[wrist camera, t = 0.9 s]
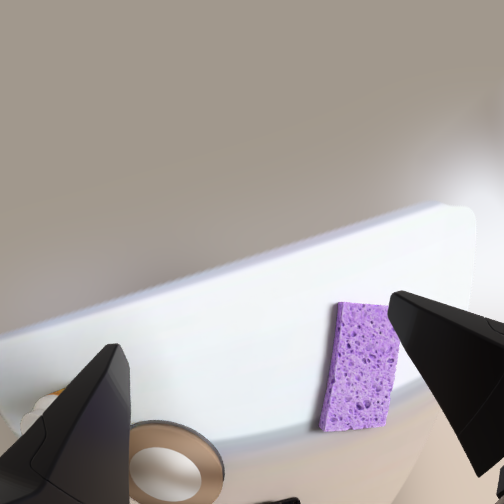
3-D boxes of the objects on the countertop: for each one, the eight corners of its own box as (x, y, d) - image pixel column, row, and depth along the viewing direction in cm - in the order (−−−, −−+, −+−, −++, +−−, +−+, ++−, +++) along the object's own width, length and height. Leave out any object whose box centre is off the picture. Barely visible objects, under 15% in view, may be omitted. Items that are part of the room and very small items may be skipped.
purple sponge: (316, 425, 23) (322, 432, 21) (335, 300, 26) (343, 298, 24) (377, 422, 23) (385, 427, 22) (394, 307, 27) (404, 305, 25)
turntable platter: (233, 500, 19) (234, 509, 18) (135, 506, 18) (132, 513, 16) (207, 417, 21) (206, 423, 20) (101, 424, 20) (95, 430, 18)
